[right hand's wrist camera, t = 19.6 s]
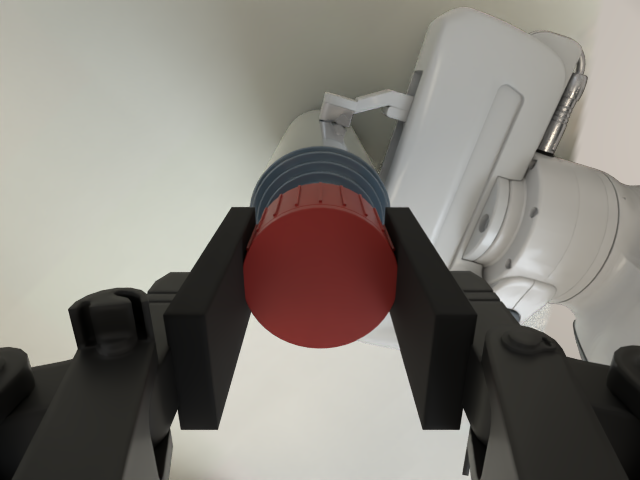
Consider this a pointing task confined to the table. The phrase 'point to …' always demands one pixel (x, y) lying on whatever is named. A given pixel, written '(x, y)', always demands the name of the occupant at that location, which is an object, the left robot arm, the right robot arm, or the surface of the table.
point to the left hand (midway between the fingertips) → (305, 164)
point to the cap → (320, 267)
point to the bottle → (319, 164)
